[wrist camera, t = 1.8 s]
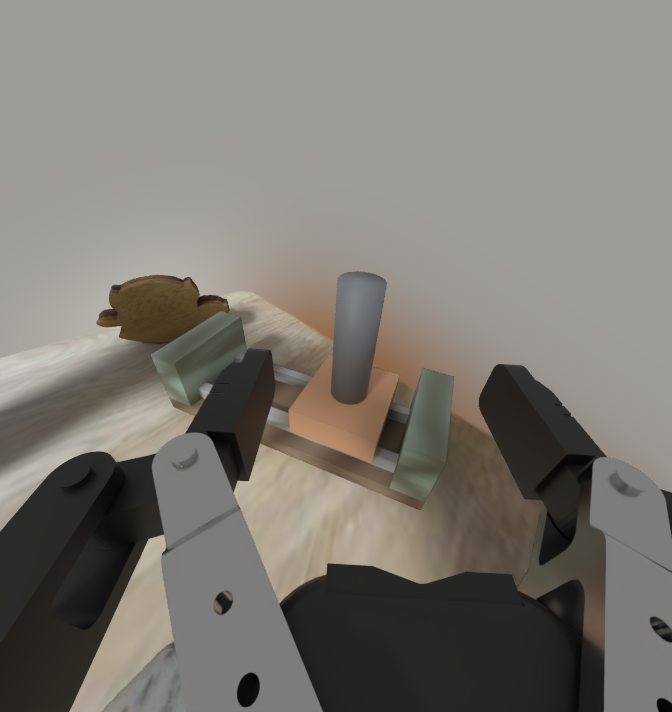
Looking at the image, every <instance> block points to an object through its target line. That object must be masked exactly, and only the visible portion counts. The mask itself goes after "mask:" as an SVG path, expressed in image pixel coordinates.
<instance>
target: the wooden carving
mask: <svg viewBox="0 0 672 712" xmlns="http://www.w3.org/2000/svg"><path fill="white" fill-rule="evenodd" d="M199 295H200V294H199V290H198V288H197V286H196V284H195V283H194V282H193V281H192V279H191V278H190V277H187V278H185V279H184V280H182V279H179V278H177V277H174V276H164V275H152V276H145V277H140V278H136V279H132V280H130V281H127V282H125V283H124V284H122V285H113V286H112V287H111V290H110V294H109V302H110V305H111V306H112V308H113V309H108V310H104V311H102V312H101V313H100V315H99V320H98V321H97V324H98V325H100V326H102V327H116V326H122V327H121V332H120V335H119V337H120V338H123V339H127V340H133V341H140V342H150V343H169V342H172V341H174V340H175V339H177V338H178V337H180V336H182V335H183V334H185V333H186V332H188V331H190V330H191V329H193V328H195V327H196V326H198V325H199V324H201V323H203V322H204V321H206V320H207V319H209V318H211V317H212V316H214V315H215V314H217V313H219V312H220V311H222V312H226V313H228V312H229V311H230V310H229V305H228V302H227V299H223V298H221V297H219V296H215V295H208V296H206V295H204V296H201V297H199Z"/></svg>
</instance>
